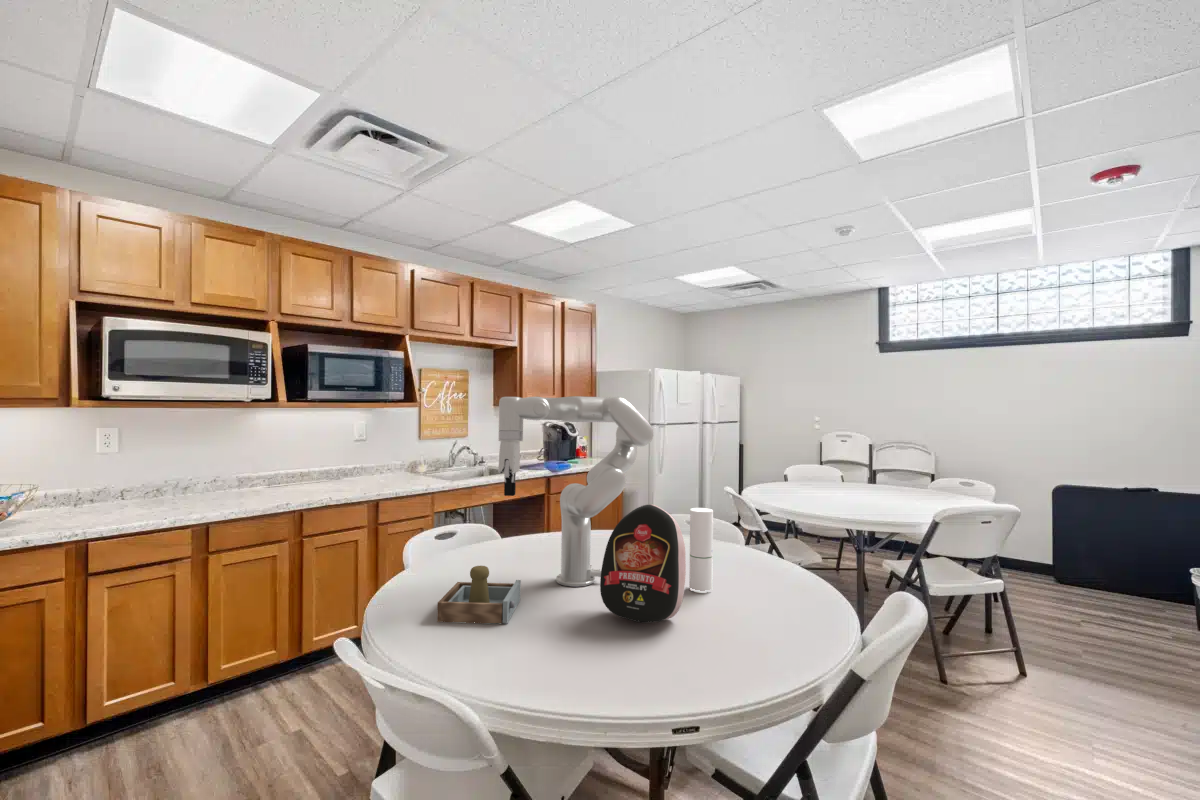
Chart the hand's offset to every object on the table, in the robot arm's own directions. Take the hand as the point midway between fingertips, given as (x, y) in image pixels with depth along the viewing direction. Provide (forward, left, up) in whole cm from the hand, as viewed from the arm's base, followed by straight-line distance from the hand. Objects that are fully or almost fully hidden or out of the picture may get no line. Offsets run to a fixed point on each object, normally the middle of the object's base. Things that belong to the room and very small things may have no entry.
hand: (509, 495), depth 166 cm
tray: (+2, +18, -29) cm, 34 cm away
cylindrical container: (-60, -5, -29) cm, 67 cm away
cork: (+4, +18, -28) cm, 34 cm away
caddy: (+4, +18, -29) cm, 34 cm away
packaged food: (-41, +19, -29) cm, 54 cm away
